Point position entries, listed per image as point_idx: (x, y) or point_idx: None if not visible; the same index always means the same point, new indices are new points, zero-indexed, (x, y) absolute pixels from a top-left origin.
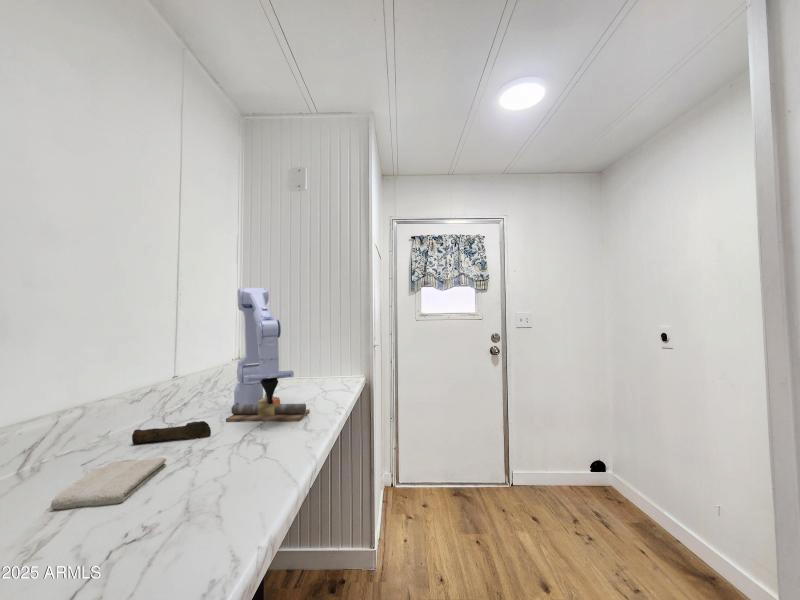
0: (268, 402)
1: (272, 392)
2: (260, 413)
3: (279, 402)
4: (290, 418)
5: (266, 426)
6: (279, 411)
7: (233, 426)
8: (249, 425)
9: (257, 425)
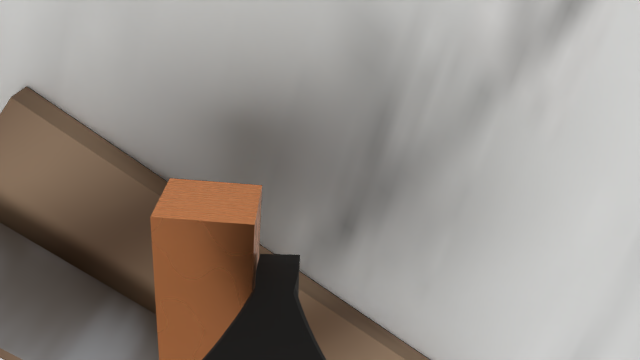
0: (298, 286)
1: (237, 346)
2: None
3: (168, 197)
4: (96, 151)
5: (331, 140)
6: None
7: (532, 304)
8: (432, 255)
9: (383, 216)
